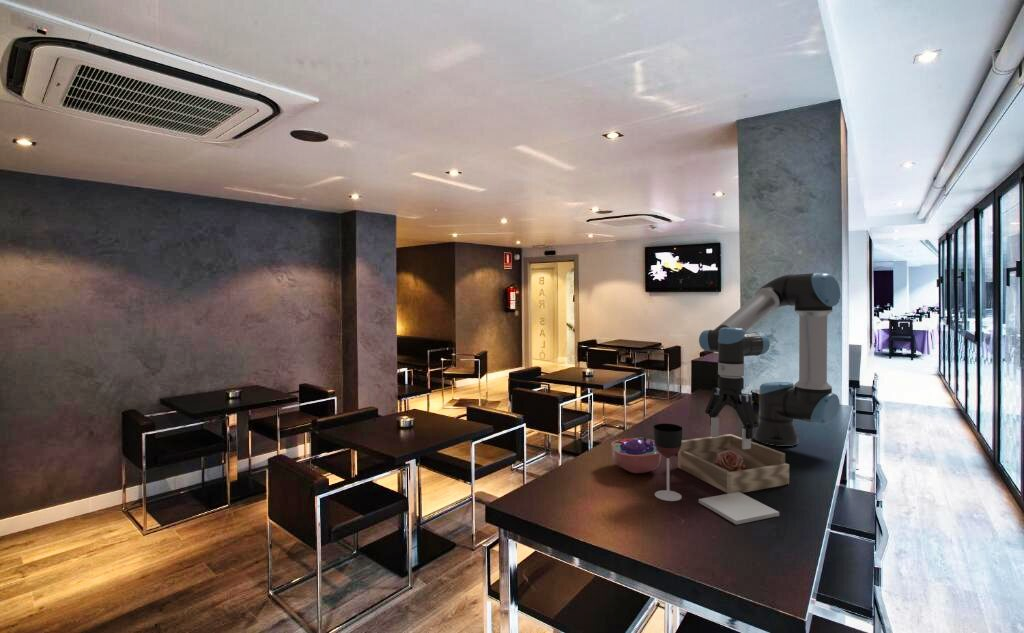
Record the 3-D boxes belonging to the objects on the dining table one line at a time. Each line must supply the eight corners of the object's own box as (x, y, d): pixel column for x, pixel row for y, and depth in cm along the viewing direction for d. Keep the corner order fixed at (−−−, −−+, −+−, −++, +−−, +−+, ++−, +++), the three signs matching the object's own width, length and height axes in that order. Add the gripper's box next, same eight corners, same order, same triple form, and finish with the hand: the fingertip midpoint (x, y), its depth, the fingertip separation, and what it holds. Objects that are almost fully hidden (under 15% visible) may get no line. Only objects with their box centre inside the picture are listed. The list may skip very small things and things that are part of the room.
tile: (738, 495, 140) (738, 491, 140) (779, 515, 127) (779, 512, 127) (698, 502, 136) (698, 499, 136) (736, 524, 123) (736, 520, 123)
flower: (709, 464, 161) (711, 450, 157) (733, 457, 162) (736, 444, 158) (723, 487, 154) (727, 474, 150) (749, 480, 155) (753, 467, 150)
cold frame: (730, 459, 170) (730, 433, 170) (789, 484, 148) (789, 455, 147) (677, 467, 163) (677, 441, 163) (730, 494, 141) (730, 464, 140)
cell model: (667, 463, 167) (666, 431, 167) (658, 484, 149) (658, 448, 149) (618, 457, 175) (617, 426, 174) (604, 476, 156) (604, 442, 156)
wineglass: (682, 491, 144) (682, 424, 143) (682, 503, 136) (682, 432, 135) (654, 488, 146) (654, 422, 146) (653, 499, 138) (652, 430, 137)
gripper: (694, 371, 165) (694, 433, 165) (752, 383, 141) (751, 455, 142) (712, 370, 167) (712, 431, 168) (772, 381, 143) (771, 452, 144)
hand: (729, 442), depth 155 cm, fingers open, 13 cm apart
